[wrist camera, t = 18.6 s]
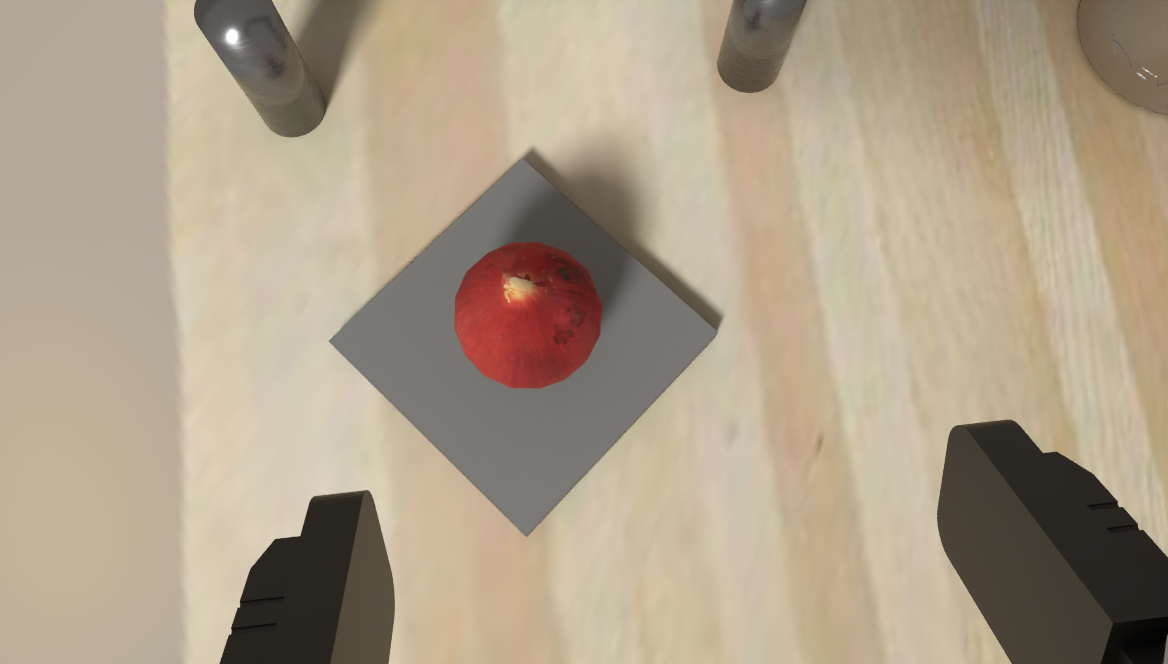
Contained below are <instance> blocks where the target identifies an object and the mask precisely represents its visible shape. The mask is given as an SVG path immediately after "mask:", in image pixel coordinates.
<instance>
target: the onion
mask: <svg viewBox="0 0 1168 664" xmlns="http://www.w3.org/2000/svg"><path fill="white" fill-rule="evenodd" d="M601 319H602V303H601V300H600V298H599V295H598V293H597V291H596V288H595V286H594V283H593V281H592V278H591V276H590V273H589V271H588V270H587V269H586V268H585V267H584V266H582V265H581V264H580V263H579V262H578V261H577V260H575V259H574V258H573V257H572V256H571V255H570V254H568V253H567V252H566V251H563V250H560V249H557V248H554V247H551V246H549V245H546V244H543V243H540V242H511V243H509V244H507V245H504V246H502V247H500V248H497V249H495V250H493V251H491V252H488V253H487V254H486V255H485V256H484V257H482V258H481V259H480V260H479V261H478V262H477V263H476V264H474V265H473V266H472V267H471V268H470V269H469V270H468V271H466V273H465V275H464V278H463V280H462V282H461V285H460V287H459V289H458V292H457V294H456V296H455V321H454V329H455V331H456V334H457V337H458V339H459V342H460V344H461V347H462V350H463V352H464V354H465V356H466V357H467V358H468V359H469V360H470V361H471V362H472V363H473V364H474V365H475V366H476V368H477V369H478V370H479V371H480V372H481V373H482V374H483V375H484V376H486V377H488V378H490V379H492V380H494V381H497V382H499V383H501V384H503V385H505V386H507V387H509V388H533V389H541V388H544V387H546V386H549V385H552V384H555V383H558V382H561V381H564V380H565V379H567V378H568V377H569V376H570V375H571V374H572V373H574V372H575V371H576V370H577V369H578V368H580V367H581V366H582V365H583V364H584V363H585V362H586V361H587V360H588V358H589V356H590V354H591V352H592V350H593V348H594V346H595V344H596V342H597V340H598V338H599V336H600V332H601Z"/></svg>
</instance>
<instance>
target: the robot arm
mask: <svg viewBox="0 0 1168 664" xmlns="http://www.w3.org/2000/svg"><path fill="white" fill-rule="evenodd" d="M1078 31H1079V35H1080V39H1081V43H1082V47H1083V49H1084V51H1085V53H1086V55H1087V57H1088V60H1089V62H1090V64H1091V65H1092V66H1093V68H1094V69H1095V70H1096V72H1097V73H1098V74H1099V75H1100V77H1101V78H1102V79H1103V80H1104V81H1105V82H1106V83H1107V84H1108V85H1109V86H1110V87H1111V88H1113V89H1114V90H1115V91H1116V92H1117V93H1118V94H1120V95H1121V96H1123V97H1125V98H1126V99H1128V100H1130V101H1131V102H1133V103H1134V104H1136V105H1139V106H1141V107H1144V108H1146V109H1148V110H1151V111H1153V112H1156V113H1161V114H1166V115H1168V0H1081V3H1080V7H1079V11H1078ZM937 521H938V529H939V534H940V538H941V542H942V545H943V548H944V550H945V552H946V554H947V556H948V558H949V560H950V562H951V563H952V565H953V567H954V568H955V570H956V571H957V573H958V575H959V576H960V578H961V580H962V581H963V583H964V585H965V586H966V588H967V590H968V591H969V593H970V595H971V596H972V598H973V600H974V601H975V603H976V605H977V606H978V608H979V610H980V611H981V613H982V615H983V616H984V618H985V620H986V621H987V623H988V625H989V626H990V628H991V630H992V631H993V633H994V635H995V636H996V638H997V640H998V641H999V643H1000V645H1001V646H1002V648H1003V650H1004V651H1005V653H1006V655H1007V656H1008V658H1009V660H1010V661H1011V663H1012V664H1168V557H1167V556H1166V555H1165V554H1164V553H1163V552H1162V550H1161V549H1160V548H1159V547H1158V546H1157V545H1156V544H1155V543H1154V542H1153V540H1152V539H1151V538H1150V537H1149V536H1148V535H1147V534H1146V533H1145V531H1144V530H1139V529H1138V524H1137V523H1136V521H1135V520H1134V519H1133V518H1132V517H1131V516H1130V515H1129V514H1128V512H1127V511H1126V510H1125V509H1124V508H1123V507H1119V506H1118V501H1117V500H1116V499H1115V498H1114V497H1113V496H1112V495H1111V493H1110V492H1109V491H1108V490H1107V489H1106V488H1105V487H1104V486H1103V485H1102V483H1101V482H1100V481H1099V480H1098V479H1097V478H1096V477H1095V476H1094V474H1092V473H1091V472H1089V471H1087V470H1086V469H1084V468H1083V467H1081V466H1079V465H1078V464H1076V463H1074V462H1073V461H1071V460H1069V459H1068V458H1066V457H1065V456H1063V455H1061V454H1060V453H1058V452H1049V453H1042V451H1041V450H1040V449H1039V448H1038V447H1037V446H1036V444H1035V443H1034V442H1033V441H1032V440H1031V438H1030V437H1029V436H1028V435H1027V434H1026V433H1025V431H1024V430H1023V429H1022V428H1021V427H1020V426H1019V425H1018V424H1017V423H1016V422H1015V421H1012V420H1000V421H992V422H983V423H974V424H965V425H957V426H955V427H954V428H952V430H951V432H950V434H949V438H948V444H947V451H946V457H945V464H944V470H943V477H942V483H941V490H940V496H939V503H938V511H937ZM394 613H395V597H394V584H393V577H392V572H391V568H390V564H389V560H388V556H387V552H386V548H385V544H384V540H383V536H382V532H381V528H380V524H379V520H378V516H377V511H376V507H375V504H374V500H373V497H372V495H371V493H370V492H369V491H368V490H365V491H356V492H347V493H339V494H330V495H321V496H314V497H313V498H312V499H311V501H310V503H309V506H308V510H307V514H306V517H305V521H304V525H303V529H302V532H301V536H298V537H289V538H280V539H275V540H274V541H273V542H272V544H271V545H270V546H269V547H268V548H267V550H266V551H265V552H264V553H263V554H262V556H261V557H260V558H259V559H258V560H257V562H256V563H255V564H254V565H253V566H252V568H251V569H250V572H249V575H248V578H247V581H246V584H245V587H244V590H243V593H242V596H241V599H240V608H238V609H237V612H236V615H235V618H234V621H233V624H232V627H231V630H232V633H231V635H229V636H228V639H227V642H226V646H225V649H224V652H223V655H222V658H221V661H220V664H388V663H389V655H390V647H391V639H392V632H393V624H394Z"/></svg>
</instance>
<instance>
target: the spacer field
mask: <svg viewBox="0 0 1168 664" xmlns="http://www.w3.org/2000/svg"><path fill="white" fill-rule="evenodd" d="M806 1H807V0H733V3H732V7H731V11H730V15H729V19H728V22H727V26H726V30H725V34H724V37H723V41H722V45H721V49H720V53H719V56H718V61H717V67H718V71H719V74H720V76H721V78H722V79H723V81H724V82H725V83H726V84H727V85H728V86H730V87H731V88H733V89H735V90H737V91H740V92H745V93H754V92H759V91H762V90H764V89H766V88H768V87H769V86H770V85H771V84H772V83H773V82H774V81H775V79H776V77H777V75H778V73H779V70H780V68H781V65H782V62H783V60H784V57H785V55H786V52H787V50H788V47H789V45H790V42H791V39H792V37H793V34H794V32H795V29H796V27H797V24H798V22H799V19H800V16H801V14H802V11H803V9H804V6H805V4H806ZM194 17H195V21H196V23H197V25H198V27H199V28H200V30H201V31H202V33H203V34H204V36H205V37H206V38H207V40H208V41H209V43H210V44H211V46H212V47H213V48H214V50H215V51H216V53H217V54H218V56H219V57H220V59H221V60H222V61H223V63H224V64H225V66H226V67H227V69H228V70H229V72H230V73H231V74H232V76H233V77H234V79H235V80H236V82H237V83H238V84H239V86H240V87H241V89H242V90H243V92H244V93H245V95H246V96H247V97H248V99H249V100H250V102H251V103H252V105H253V106H254V108H255V109H256V110H257V112H258V113H259V115H260V116H261V118H262V119H263V120H264V122H265V123H266V125H267V126H268V127H269V128H270V130H272V131H273V132H274V133H276V134H278V135H281V136H284V137H298V136H302V135H305V134H307V133H309V132H311V131H312V130H313V129H315V128H316V127H317V126H318V125H319V123H320V122H321V120H322V119H323V116H324V113H325V100H324V97H323V95H322V93H321V92H320V90H319V88H318V86H317V84H316V82H315V80H314V78H313V77H312V75H311V73H310V71H309V69H308V67H307V65H306V64H305V62H304V60H303V58H302V56H301V54H300V52H299V50H298V49H297V47H296V45H295V43H294V41H293V39H292V37H291V36H290V34H289V32H288V30H287V28H286V26H285V24H284V22H283V21H282V19H281V17H280V15H279V13H278V11H277V9H276V8H275V6H274V4H273V2H272V0H196V3H195V7H194Z"/></svg>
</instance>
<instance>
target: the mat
mask: <svg viewBox="0 0 1168 664" xmlns="http://www.w3.org/2000/svg"><path fill="white" fill-rule="evenodd" d="M511 242H540V243H543V244H546V245H549V246H551V247H554V248H557V249H560V250H563V251H566V252H567V253H568V254H570V255H571V256H572V257H573V258H574V259H575V260H577V261H578V262H579V263H580V264H581V265H582V266H584V267H585V268H586V269H587V270H588V271H589V273H590V276H591V278H592V281H593V283H594V286H595V288H596V291H597V293H598V295H599V298H600V300H601V303H602V319H601V332H600V336H599V338H598V340H597V342H596V344H595V346H594V348H593V350H592V352H591V354H590V356H589V358H588V360H587V361H586V362H585V363H584V364H583V365H582V366H581V367H580V368H578V369H577V370H576V371H575V372H574V373H572V374H571V375H570V376H569V377H568V378H567V379H565V380H564V381H561V382H558V383H555V384H552V385H549V386H546V387H544V388H541V389H533V388H509V387H507V386H505V385H503V384H501V383H499V382H497V381H494V380H492V379H490V378H488V377H486V376H484V375H483V374H482V373H481V372H480V371H479V370H478V369H477V368H476V366H475V365H474V364H473V363H472V362H471V361H470V360H469V359H468V358H467V357H466V356H465V354H464V352H463V350H462V347H461V344H460V342H459V339H458V337H457V334H456V331H455V329H454V321H455V296H456V294H457V292H458V289H459V287H460V285H461V282H462V280H463V278H464V275H465V273H466V271H468V270H469V269H470V268H471V267H472V266H473V265H474V264H476V263H477V262H478V261H479V260H480V259H481V258H482V257H484V256H485V255H486V254H487V253H488V252H491V251H493V250H495V249H497V248H500V247H502V246H504V245H507V244H509V243H511ZM717 333H718V332H717V331H716V330H715V329H714V328H713V327H712V326H711V325H710V324H708V323H707V322H706V321H705V320H704V319H703V318H702V317H701V316H699V315H698V314H697V313H696V312H695V311H694V310H693V309H692V308H690V307H689V306H688V305H687V304H686V303H685V302H684V301H683V300H681V299H680V298H679V297H678V296H677V295H676V294H675V293H674V292H672V291H671V290H670V289H669V288H668V287H667V286H666V285H665V284H663V283H662V282H661V281H660V280H659V279H658V278H657V277H656V276H654V275H653V274H652V273H651V272H650V271H649V270H648V269H647V268H645V267H644V266H643V265H642V264H641V263H640V262H639V261H637V260H636V259H635V258H634V257H633V256H632V255H631V254H630V253H628V252H627V251H626V250H625V249H624V248H623V247H622V246H621V245H619V244H618V243H617V242H616V241H615V240H614V239H613V238H612V237H610V236H609V235H608V234H607V233H606V232H605V231H604V230H603V229H601V228H600V227H599V226H598V225H597V224H596V223H595V222H594V221H592V220H591V219H590V218H589V217H588V216H587V215H586V214H585V213H583V212H582V211H581V210H580V209H579V208H578V207H577V206H576V205H574V204H573V203H572V202H571V201H570V200H569V199H568V198H567V197H565V196H564V195H563V194H562V193H561V192H560V191H559V190H558V189H556V188H555V187H554V186H553V185H552V184H551V183H550V182H549V181H547V180H546V179H545V178H544V177H543V176H542V175H541V174H539V173H538V172H537V171H536V170H535V169H534V168H533V167H532V166H530V165H529V164H528V163H527V162H526V161H525V160H524V159H523V158H522V159H521V160H520V161H519V162H518V163H517V164H515V165H514V166H513V167H512V168H511V169H510V170H509V171H508V172H507V173H506V174H505V175H504V176H503V177H502V178H501V179H500V180H499V181H497V182H496V183H495V184H494V185H493V186H492V187H491V188H490V189H489V190H488V191H487V192H486V193H485V194H484V195H483V196H482V197H481V198H479V199H478V200H477V201H476V202H475V203H474V204H473V205H472V206H471V207H470V208H469V209H468V210H467V211H466V212H465V213H464V214H463V215H461V216H460V217H459V218H458V219H457V220H456V221H455V222H454V223H453V224H452V225H451V226H450V227H449V228H448V229H447V230H446V231H445V232H443V233H442V234H441V235H440V236H439V237H438V238H437V239H436V240H435V241H434V242H433V243H432V244H431V245H430V246H429V247H428V248H427V249H425V250H424V251H423V252H422V253H421V254H420V255H419V256H418V257H417V258H416V259H415V260H414V261H413V262H412V263H411V264H410V265H409V266H407V267H406V268H405V269H404V270H403V271H402V272H401V273H400V274H399V275H398V276H397V277H396V278H395V279H394V280H393V281H392V282H391V283H389V284H388V285H387V286H386V287H385V288H384V289H383V290H382V291H381V292H380V293H379V294H378V295H377V296H376V297H375V298H374V299H373V300H371V301H370V302H369V303H368V304H367V305H366V306H365V307H364V308H363V309H362V310H361V311H360V312H359V313H358V314H357V315H356V316H355V317H353V318H352V319H351V320H350V321H349V322H348V323H347V324H346V325H345V326H344V327H343V328H342V329H341V330H340V331H339V332H338V333H337V334H335V335H334V336H333V337H332V338H331V339H330V340H329V342H330V343H331V344H332V345H333V346H334V347H335V348H336V349H337V350H338V351H339V352H340V353H341V354H342V355H343V356H344V357H345V358H346V359H347V360H348V361H349V362H350V363H351V364H352V365H353V366H354V367H355V368H356V369H357V370H358V371H359V372H360V373H361V374H362V375H363V376H364V377H365V378H366V379H367V380H368V381H369V382H370V383H371V384H372V385H373V386H374V387H375V388H376V389H377V390H378V391H379V392H380V393H381V394H382V395H383V396H384V397H385V398H386V399H388V400H389V401H390V402H391V403H392V404H393V405H394V406H395V407H396V408H397V409H398V410H399V411H400V412H401V413H402V414H403V415H404V416H405V417H406V418H407V419H408V420H409V421H410V422H411V423H412V424H413V425H414V426H415V427H416V428H417V429H418V430H419V431H420V432H421V433H422V434H423V435H424V436H425V437H426V438H427V439H428V440H429V441H430V442H431V443H432V444H433V445H434V446H435V447H436V448H437V449H438V450H439V451H440V452H441V453H442V454H443V455H444V456H445V457H446V458H447V459H448V460H449V461H450V462H451V463H452V464H453V465H454V466H455V467H456V468H457V469H458V470H459V471H460V472H461V473H462V474H463V475H464V476H465V477H466V478H467V479H468V480H469V481H470V482H471V483H472V484H473V485H474V486H475V487H476V488H477V489H479V490H480V491H481V492H482V493H483V494H484V495H485V496H486V497H487V498H488V499H489V500H490V501H491V502H492V503H493V504H494V505H495V506H496V507H497V508H498V509H499V510H500V511H501V512H502V513H503V514H504V515H505V516H506V517H507V518H508V519H509V520H510V521H511V522H512V523H513V524H514V525H515V526H516V527H517V528H518V529H519V530H520V531H521V532H522V533H523V534H524V535H525V536H526V537H527V536H528V535H529V534H530V533H531V532H532V531H533V530H534V529H535V528H536V526H537V525H538V524H539V523H540V522H541V521H542V520H543V519H544V518H545V517H546V516H547V515H548V514H549V513H550V512H551V511H552V510H553V508H554V507H555V506H556V505H557V504H558V503H559V502H560V501H561V500H562V499H563V498H564V497H565V496H566V495H567V494H568V493H569V492H570V490H571V489H572V488H573V487H574V486H575V485H576V484H577V483H578V482H579V481H580V480H581V479H582V478H583V477H584V476H585V475H586V474H587V473H588V471H589V470H590V469H591V468H592V467H593V466H594V465H595V464H596V463H597V462H598V461H599V460H600V459H601V458H602V457H603V456H604V455H605V453H606V452H607V451H608V450H609V449H610V448H611V447H612V446H613V445H614V444H615V443H616V442H617V441H618V440H619V439H620V438H621V437H622V435H623V434H624V433H625V432H626V431H627V430H628V429H629V428H630V427H631V426H632V425H633V424H634V423H635V422H636V421H637V420H638V419H639V417H640V416H641V415H642V414H643V413H644V412H645V411H646V410H647V409H648V408H649V407H650V406H651V405H652V404H653V403H654V402H655V401H656V399H657V398H658V397H659V396H660V395H661V394H662V393H663V392H664V391H665V390H666V389H667V388H668V387H669V386H670V385H671V384H672V383H673V381H674V380H675V379H676V378H677V377H678V376H679V375H680V374H681V373H682V372H683V371H684V370H685V369H686V368H687V367H688V366H689V365H690V364H691V362H692V361H693V360H694V359H695V358H696V357H697V356H698V355H699V354H700V353H701V352H702V351H703V350H704V349H705V348H706V347H707V346H708V344H709V343H710V342H711V341H712V340H713V339H714V338H715V337H716V335H717Z"/></svg>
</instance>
